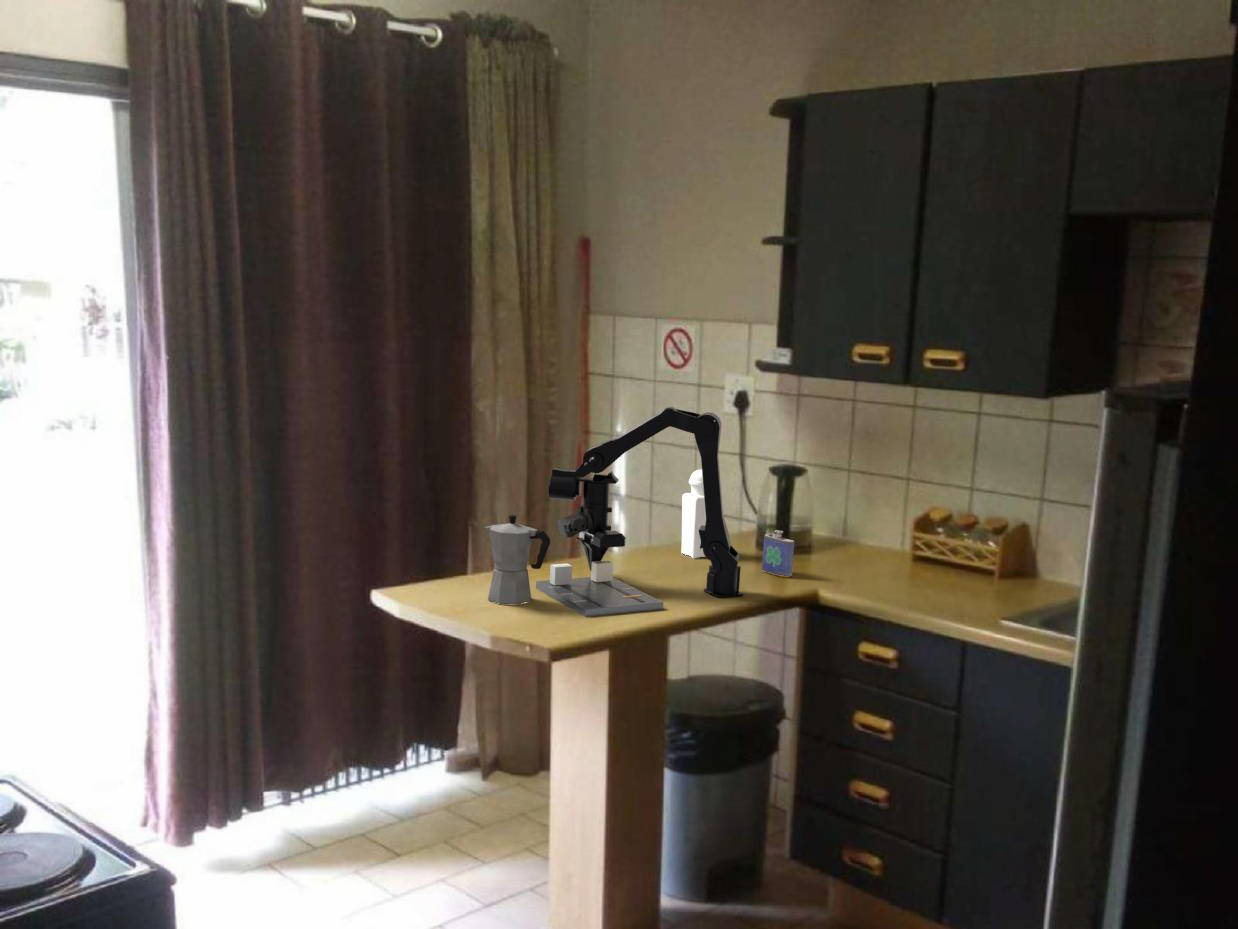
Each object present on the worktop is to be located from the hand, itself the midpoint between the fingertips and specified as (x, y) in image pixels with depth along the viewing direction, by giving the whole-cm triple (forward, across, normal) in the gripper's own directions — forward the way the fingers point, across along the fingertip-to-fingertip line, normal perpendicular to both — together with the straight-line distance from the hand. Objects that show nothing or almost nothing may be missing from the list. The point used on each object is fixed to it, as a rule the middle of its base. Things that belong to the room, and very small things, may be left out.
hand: (592, 570), depth 256 cm
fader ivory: (+1, +5, 0) cm, 5 cm away
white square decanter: (+3, -18, +38) cm, 42 cm away
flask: (+3, +6, +46) cm, 47 cm away
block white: (+1, +5, -10) cm, 11 cm away
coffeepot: (+3, +9, -23) cm, 24 cm away
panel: (+3, +13, -5) cm, 14 cm away
